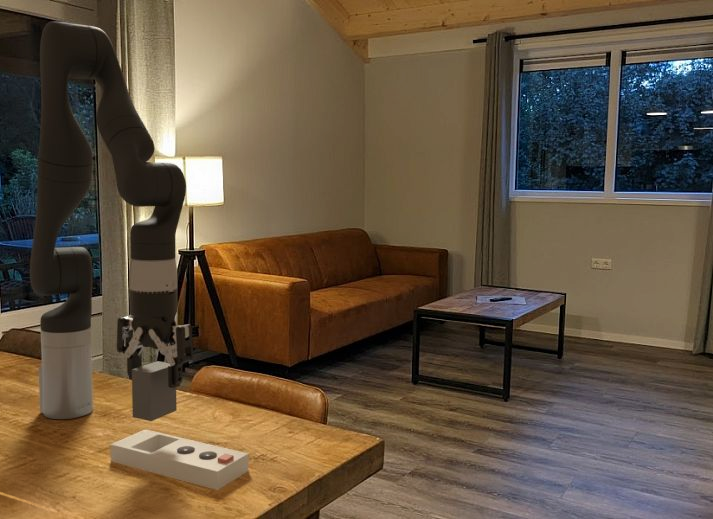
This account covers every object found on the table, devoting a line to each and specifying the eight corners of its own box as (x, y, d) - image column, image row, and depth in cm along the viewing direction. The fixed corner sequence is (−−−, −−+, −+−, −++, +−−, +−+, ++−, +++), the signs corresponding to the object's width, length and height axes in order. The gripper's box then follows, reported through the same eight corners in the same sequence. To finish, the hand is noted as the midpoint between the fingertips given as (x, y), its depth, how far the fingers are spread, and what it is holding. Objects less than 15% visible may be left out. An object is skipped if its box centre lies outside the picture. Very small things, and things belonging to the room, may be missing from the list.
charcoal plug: (132, 417, 113) (131, 369, 112) (158, 406, 119) (157, 361, 118) (151, 421, 112) (150, 372, 111) (176, 410, 117) (176, 364, 116)
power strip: (107, 460, 116) (106, 439, 115) (141, 444, 123) (141, 425, 122) (217, 490, 105) (217, 467, 105) (248, 471, 113) (248, 449, 112)
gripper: (103, 284, 112) (105, 382, 114) (171, 293, 106) (172, 395, 108) (137, 279, 119) (138, 371, 121) (203, 286, 113) (203, 383, 115)
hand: (154, 382), depth 115 cm, fingers open, 8 cm apart
